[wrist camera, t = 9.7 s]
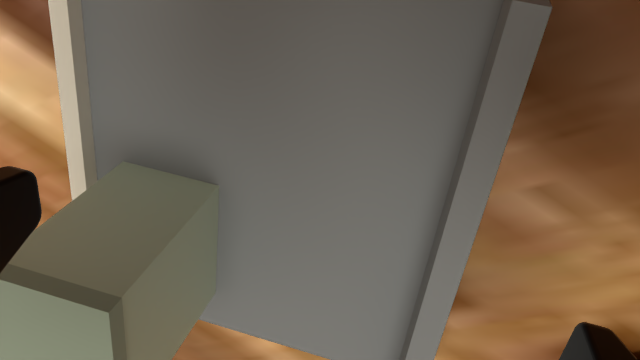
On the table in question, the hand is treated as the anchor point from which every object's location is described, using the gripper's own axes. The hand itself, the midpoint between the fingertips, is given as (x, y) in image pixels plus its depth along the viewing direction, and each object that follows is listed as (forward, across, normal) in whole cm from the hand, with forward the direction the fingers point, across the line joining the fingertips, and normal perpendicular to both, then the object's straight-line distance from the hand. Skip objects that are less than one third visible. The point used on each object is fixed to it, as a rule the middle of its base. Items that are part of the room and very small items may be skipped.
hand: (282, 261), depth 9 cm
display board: (+13, +4, +6) cm, 15 cm away
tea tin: (+12, +8, +10) cm, 17 cm away
